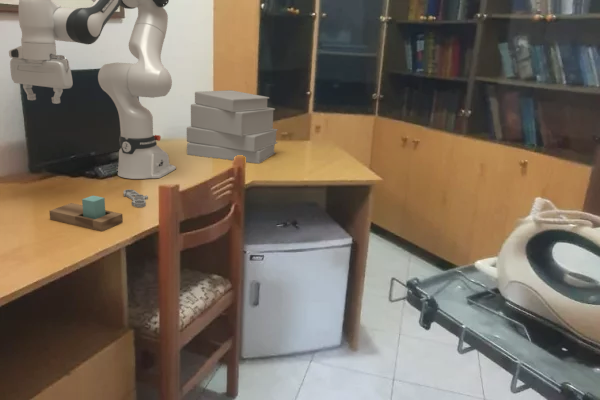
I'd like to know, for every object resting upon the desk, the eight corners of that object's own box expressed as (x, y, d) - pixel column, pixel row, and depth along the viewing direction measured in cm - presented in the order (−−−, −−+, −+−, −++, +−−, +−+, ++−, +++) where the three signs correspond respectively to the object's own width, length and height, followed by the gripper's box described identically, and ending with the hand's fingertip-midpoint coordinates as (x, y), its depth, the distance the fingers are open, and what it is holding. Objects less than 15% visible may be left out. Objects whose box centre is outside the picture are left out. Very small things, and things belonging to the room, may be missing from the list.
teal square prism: (94, 219, 150) (92, 195, 148) (105, 222, 149) (104, 197, 147) (83, 223, 147) (82, 199, 145) (95, 226, 145) (93, 201, 143)
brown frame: (72, 211, 155) (71, 202, 155) (122, 222, 149) (122, 213, 148) (50, 219, 148) (49, 210, 148) (102, 231, 142) (101, 222, 141)
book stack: (258, 166, 217) (260, 102, 209) (179, 156, 226) (178, 94, 218) (281, 152, 245) (283, 94, 237) (210, 143, 254) (210, 88, 246)
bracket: (121, 203, 160) (123, 188, 174) (121, 209, 161) (123, 194, 174) (147, 203, 162) (148, 187, 176) (147, 209, 163) (148, 193, 176)
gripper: (76, 55, 154) (79, 104, 159) (22, 50, 161) (27, 97, 166) (58, 55, 149) (62, 106, 153) (4, 50, 156) (9, 99, 160)
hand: (43, 101), depth 159 cm, fingers open, 8 cm apart
